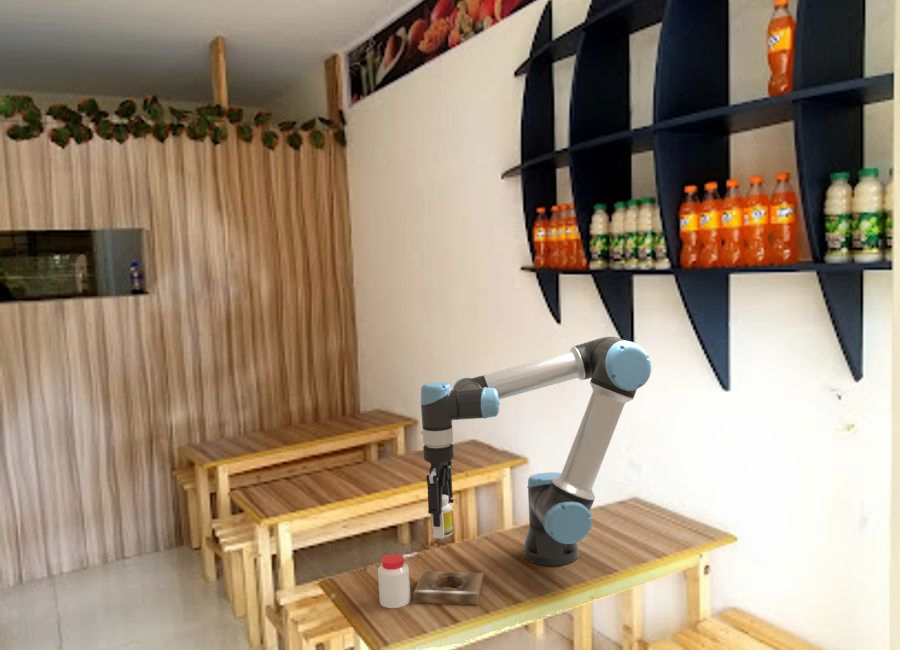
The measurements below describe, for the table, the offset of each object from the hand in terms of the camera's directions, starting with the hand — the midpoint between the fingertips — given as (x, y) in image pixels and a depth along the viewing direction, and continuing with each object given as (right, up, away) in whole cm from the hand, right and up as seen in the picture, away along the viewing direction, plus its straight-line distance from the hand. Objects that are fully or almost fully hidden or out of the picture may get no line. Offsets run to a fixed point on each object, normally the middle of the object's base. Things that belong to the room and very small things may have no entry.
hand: (442, 532), depth 181 cm
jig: (+2, -15, -1) cm, 15 cm away
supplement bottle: (0, -1, 0) cm, 1 cm away
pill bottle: (-12, -16, -4) cm, 20 cm away
